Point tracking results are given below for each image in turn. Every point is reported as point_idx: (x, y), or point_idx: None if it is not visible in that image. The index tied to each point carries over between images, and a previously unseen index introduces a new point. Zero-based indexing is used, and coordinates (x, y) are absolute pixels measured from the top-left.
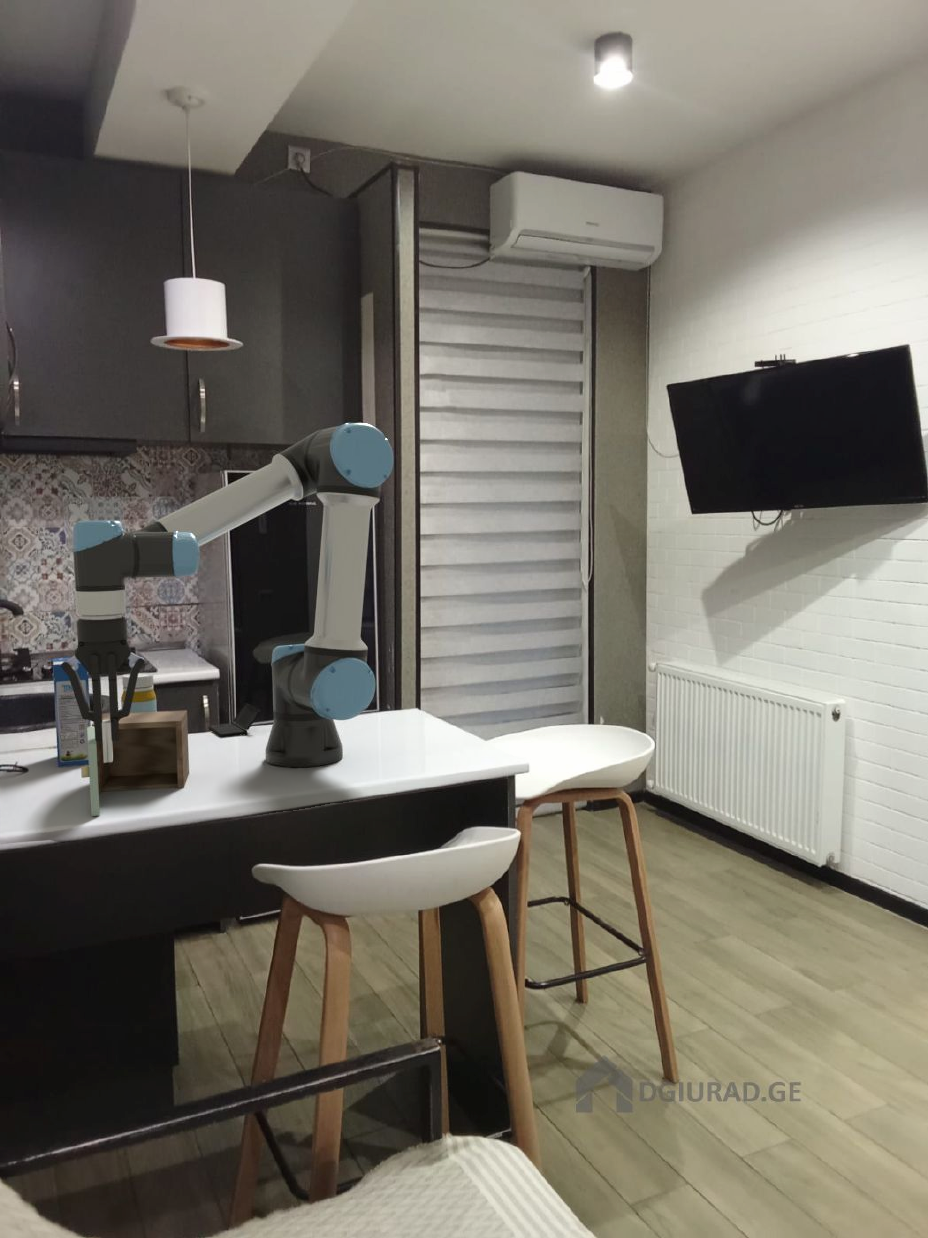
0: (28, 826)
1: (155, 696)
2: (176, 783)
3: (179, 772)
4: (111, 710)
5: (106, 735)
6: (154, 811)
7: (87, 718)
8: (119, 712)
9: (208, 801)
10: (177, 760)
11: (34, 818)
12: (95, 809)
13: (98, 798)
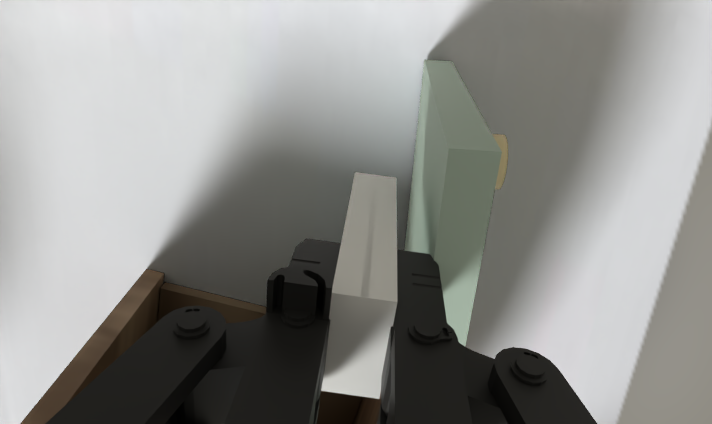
0: (671, 51)
1: None
2: (164, 291)
3: (135, 301)
4: (304, 367)
5: (370, 247)
6: (236, 34)
7: (510, 351)
8: (242, 359)
9: (54, 75)
10: (119, 330)
11: (626, 143)
12: (439, 64)
13: (428, 73)
